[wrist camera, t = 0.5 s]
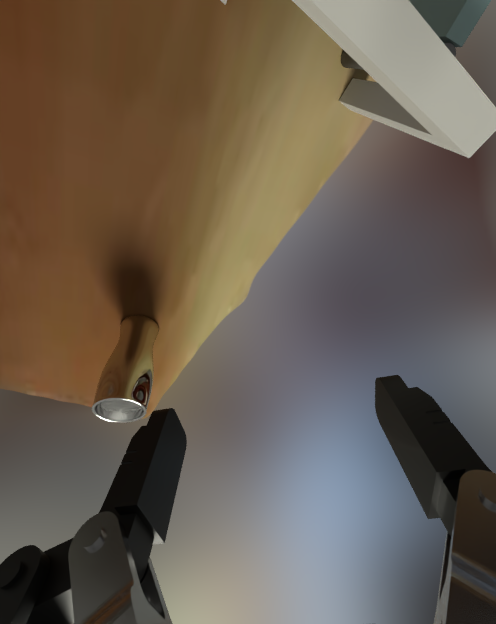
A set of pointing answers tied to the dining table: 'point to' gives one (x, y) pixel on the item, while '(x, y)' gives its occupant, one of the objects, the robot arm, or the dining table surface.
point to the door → (443, 22)
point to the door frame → (406, 73)
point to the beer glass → (128, 373)
